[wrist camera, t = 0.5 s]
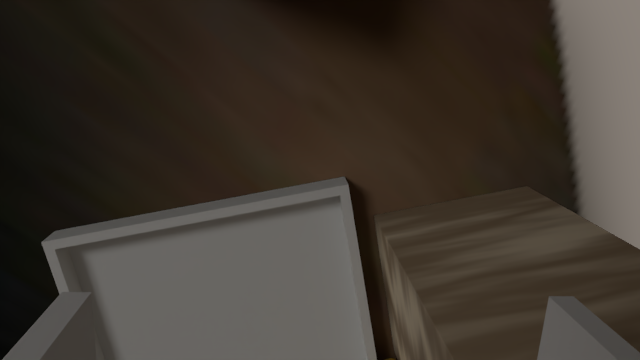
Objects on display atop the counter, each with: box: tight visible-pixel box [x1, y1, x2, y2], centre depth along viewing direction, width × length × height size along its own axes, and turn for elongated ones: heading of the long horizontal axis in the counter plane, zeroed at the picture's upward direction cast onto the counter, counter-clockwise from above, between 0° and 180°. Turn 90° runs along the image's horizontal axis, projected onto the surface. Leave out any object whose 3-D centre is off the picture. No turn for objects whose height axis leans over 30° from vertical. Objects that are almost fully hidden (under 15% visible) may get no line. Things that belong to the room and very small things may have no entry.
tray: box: [41, 177, 377, 360], centre depth 44 cm, size 22×25×2 cm
